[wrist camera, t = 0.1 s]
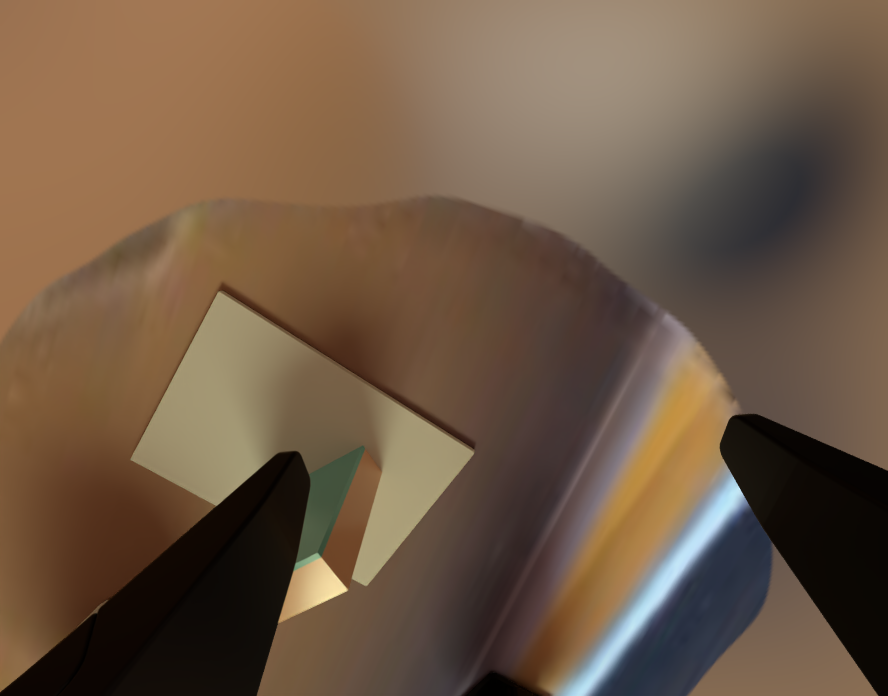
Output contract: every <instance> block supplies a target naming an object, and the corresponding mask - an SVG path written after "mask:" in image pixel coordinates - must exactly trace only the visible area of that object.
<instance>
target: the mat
mask: <svg viewBox="0 0 888 696" xmlns="http://www.w3.org/2000/svg"><path fill="white" fill-rule="evenodd" d="M362 445H363V446H364V447H365V449H366V450H367V452H368V453H369V454H370V456H371V457H372V459H373V460H374V461H375V463H376V464H377V466H378V467H379V468H380V470H381V471H382V475H381V478H380V482H379V485H378V489H377V492H376V496H375V499H374V502H373V506H372V509H371V513H370V516H369V520H368V523H367V527H366V530H365V534H364V537H363V541H362V544H361V548H360V551H359V555H358V558H357V562H356V565H355V568H354V572H353V575H352V579H353V580H355V581H357V582H359V583H361V584H363V585H365V586H367V585H368V584H369V583H370V581H371V580H372V579H373V578H374V576H375V575H376V574H377V573H378V572H379V570H380V569H381V568H382V567H383V565H384V564H385V563H386V562H387V560H388V559H389V558H390V557H391V556H392V554H393V553H394V552H395V551H396V549H397V548H398V547H399V546H400V544H401V543H402V542H403V541H404V539H405V538H406V537H407V536H408V535H409V533H410V532H411V531H412V530H413V528H414V527H415V526H416V525H417V523H418V522H419V521H420V520H421V519H422V517H423V516H424V515H425V514H426V512H427V511H428V510H429V509H430V507H431V506H432V505H433V504H434V502H435V501H436V500H437V499H438V498H439V496H440V495H441V494H442V493H443V491H444V490H445V489H446V488H447V486H448V485H449V484H450V483H451V482H452V480H453V479H454V478H455V477H456V475H457V474H458V473H459V472H460V470H461V469H462V468H463V467H464V465H465V464H466V463H467V462H468V461H469V459H470V458H471V457H472V456H473V454H474V453H475V450H474V449H473V448H471V447H470V446H468V445H466V444H465V443H463V442H462V441H460V440H459V439H457V438H455V437H454V436H452V435H451V434H449V433H447V432H446V431H444V430H443V429H441V428H440V427H438V426H436V425H435V424H433V423H432V422H430V421H428V420H427V419H425V418H424V417H422V416H421V415H419V414H417V413H416V412H414V411H413V410H411V409H409V408H408V407H406V406H405V405H403V404H402V403H400V402H398V401H397V400H395V399H394V398H392V397H390V396H389V395H387V394H386V393H384V392H383V391H381V390H379V389H378V388H376V387H375V386H373V385H371V384H370V383H368V382H367V381H365V380H364V379H362V378H360V377H359V376H357V375H356V374H354V373H352V372H351V371H349V370H348V369H346V368H345V367H343V366H341V365H340V364H338V363H337V362H335V361H333V360H332V359H330V358H329V357H327V356H326V355H324V354H322V353H321V352H319V351H318V350H316V349H314V348H313V347H311V346H310V345H308V344H307V343H305V342H303V341H302V340H300V339H299V338H297V337H295V336H294V335H292V334H291V333H289V332H288V331H286V330H284V329H283V328H281V327H280V326H278V325H277V324H275V323H273V322H272V321H270V320H269V319H267V318H265V317H264V316H262V315H261V314H259V313H258V312H256V311H254V310H253V309H251V308H250V307H248V306H246V305H245V304H243V303H242V302H240V301H239V300H237V299H235V298H234V297H232V296H231V295H229V294H227V293H226V292H224V291H223V290H222V291H219V292H218V294H217V295H216V297H215V299H214V301H213V303H212V305H211V307H210V309H209V311H208V313H207V314H206V316H205V318H204V320H203V322H202V324H201V326H200V328H199V330H198V332H197V334H196V335H195V337H194V339H193V341H192V343H191V345H190V347H189V349H188V351H187V353H186V354H185V356H184V358H183V360H182V362H181V364H180V366H179V368H178V370H177V372H176V374H175V375H174V377H173V379H172V381H171V383H170V385H169V387H168V389H167V391H166V393H165V394H164V396H163V398H162V400H161V402H160V404H159V406H158V408H157V410H156V412H155V414H154V415H153V417H152V419H151V421H150V423H149V425H148V427H147V429H146V431H145V433H144V434H143V436H142V438H141V440H140V442H139V444H138V446H137V448H136V450H135V452H134V454H133V455H132V457H131V459H130V460H132V461H134V462H135V463H137V464H139V465H141V466H143V467H145V468H147V469H148V470H150V471H152V472H154V473H156V474H158V475H160V476H162V477H163V478H165V479H167V480H169V481H171V482H173V483H175V484H176V485H178V486H180V487H182V488H184V489H186V490H188V491H189V492H191V493H193V494H195V495H197V496H199V497H201V498H203V499H204V500H206V501H208V502H210V503H212V504H214V505H216V506H217V505H218V504H219V503H221V502H222V501H223V500H224V499H225V498H226V497H227V496H229V495H230V494H231V493H232V492H233V491H234V490H235V489H237V488H238V487H239V486H240V485H241V484H242V483H243V482H245V481H246V480H247V479H248V478H249V477H250V476H251V475H253V474H254V473H255V472H256V471H257V470H258V469H259V468H261V467H262V466H263V465H264V464H265V463H266V462H268V461H269V460H270V459H271V458H272V457H273V456H274V455H276V454H277V453H279V452H284V451H298V452H299V453H300V454H301V456H302V458H303V460H304V463H305V465H306V468H307V471H308V473H309V474H310V473H312V472H314V471H316V470H318V469H319V468H321V467H323V466H325V465H327V464H329V463H331V462H333V461H334V460H336V459H338V458H340V457H342V456H344V455H346V454H347V453H349V452H351V451H353V450H355V449H357V448H359V447H361V446H362Z"/></svg>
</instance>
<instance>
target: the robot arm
mask: <svg viewBox="0 0 888 696" xmlns="http://www.w3.org/2000/svg"><path fill="white" fill-rule="evenodd" d="M720 452H721V455H722V457H723V459H724V461H725V463H726V464H727V466H728V468H729V470H730V472H731V473H732V475H733V477H734V479H735V480H736V482H737V484H738V486H739V488H740V489H741V491H742V493H743V495H744V496H745V498H746V500H747V502H748V504H749V505H750V507H751V509H752V511H753V512H754V514H755V516H756V518H757V519H758V521H759V523H760V524H761V526H762V528H763V529H764V531H765V532H766V534H767V535H768V537H769V538H770V540H771V541H772V543H773V544H774V545H775V547H776V548H777V550H778V551H779V553H780V554H781V556H782V557H783V558H784V560H785V561H786V563H787V564H788V566H789V567H790V569H791V570H792V571H793V573H794V574H795V576H796V577H797V579H798V580H799V582H800V583H801V585H802V586H803V587H804V589H805V590H806V592H807V593H808V595H809V596H810V598H811V599H812V600H813V602H814V603H815V605H816V606H817V607H818V609H819V610H820V612H821V613H822V615H823V616H824V618H825V619H826V621H827V622H828V623H829V625H830V626H831V628H832V629H833V631H834V632H835V634H836V635H837V637H838V638H839V640H840V641H841V642H842V644H843V645H844V647H845V648H846V650H847V651H848V652H849V654H850V655H851V657H852V658H853V660H854V661H855V663H856V664H857V666H858V667H859V668H860V670H861V671H862V673H863V674H864V676H865V677H866V679H867V680H868V681H869V683H870V684H871V686H872V687H873V689H874V690H875V691H876V693H877V694H878V696H888V471H887V470H885V469H883V468H880V467H878V466H876V465H873V464H871V463H869V462H866V461H864V460H862V459H860V458H857V457H855V456H853V455H850V454H848V453H846V452H843V451H841V450H839V449H837V448H834V447H832V446H829V445H827V444H825V443H822V442H820V441H818V440H816V439H813V438H811V437H809V436H807V435H804V434H802V433H800V432H797V431H795V430H793V429H790V428H788V427H786V426H783V425H781V424H779V423H776V422H774V421H772V420H770V419H767V418H765V417H763V416H760V415H758V414H741V415H734V416H732V417H731V418H730V419H729V421H728V424H727V426H726V429H725V432H724V434H723V437H722V440H721V442H720ZM310 487H311V480H310V476H309V473H308V471H307V468H306V465H305V463H304V460H303V458H302V456H301V454H300V453H299V452H298V451H284V452H279V453H277V454H276V455H274V456H273V457H272V458H271V459H270V460H269V461H268V462H266V463H265V464H264V465H263V466H262V467H261V468H259V469H258V470H257V471H256V472H255V473H254V474H253V475H251V476H250V477H249V478H248V479H247V480H246V481H245V482H243V483H242V484H241V485H240V486H239V487H238V488H237V489H235V490H234V491H233V492H232V493H231V494H230V495H229V496H227V497H226V498H225V499H224V500H223V501H222V502H221V503H219V504H218V505H217V506H216V507H215V508H214V509H212V510H211V511H210V512H209V513H208V514H207V515H206V516H204V517H203V518H202V519H201V520H200V521H199V522H198V523H196V524H195V525H194V526H193V527H192V528H191V529H190V530H188V531H187V532H186V533H185V534H184V535H183V536H182V537H180V538H179V539H178V540H177V541H176V542H175V543H173V544H172V545H171V546H170V547H169V548H168V549H167V550H165V551H164V552H163V553H162V554H161V555H160V556H159V557H157V558H156V559H155V560H154V561H153V562H152V563H151V564H149V565H148V566H147V567H146V568H145V569H144V570H143V571H141V572H140V573H139V574H138V575H137V576H136V577H134V578H133V579H132V580H131V581H130V582H129V583H128V584H126V585H125V586H124V587H123V588H122V589H121V590H120V591H118V592H117V593H116V594H115V595H114V596H113V597H112V598H110V599H109V600H108V601H107V602H106V603H105V604H103V605H102V606H101V607H100V608H99V610H98V612H97V613H94V614H92V615H91V616H90V617H88V618H87V619H86V620H85V621H84V622H83V623H82V624H80V625H79V626H78V627H77V628H76V629H75V630H73V631H72V632H71V633H70V634H69V635H68V636H67V637H65V638H64V639H63V640H62V641H61V642H60V643H58V644H57V645H56V646H55V647H54V648H53V649H51V650H50V651H49V652H48V653H47V654H45V655H44V656H43V657H42V658H41V659H40V660H38V661H37V662H36V663H35V664H34V665H33V666H31V667H30V668H29V669H28V670H27V671H25V672H24V673H23V674H22V675H21V676H20V677H18V678H17V679H16V680H15V681H13V682H12V683H11V684H10V685H8V686H7V687H6V688H5V689H4V690H2V691H1V692H0V696H257V693H258V689H259V686H260V682H261V679H262V676H263V672H264V669H265V666H266V662H267V659H268V655H269V652H270V649H271V645H272V642H273V639H274V635H275V632H276V628H277V625H278V622H279V618H280V615H281V612H282V608H283V605H284V601H285V598H286V595H287V591H288V588H289V585H290V581H291V578H292V575H293V571H294V567H295V564H296V560H297V555H298V551H299V546H300V540H301V535H302V530H303V525H304V519H305V514H306V509H307V503H308V498H309V493H310ZM467 696H538V695H537V694H535V693H533V692H531V691H529V690H527V689H525V688H523V687H521V686H520V685H518V684H516V683H514V682H512V681H510V680H508V679H506V678H504V677H503V676H501V675H499V674H497V673H490V674H489V675H488V676H487V677H486V678H484V679H483V680H482V681H481V682H480V683H479V684H478V685H477V686H476V687H475V688H474V689H473V690H472V691H471V692H470V693H469V694H468V695H467Z"/></svg>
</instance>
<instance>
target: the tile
mask: <svg viewBox="0 0 888 696" xmlns="http://www.w3.org/2000/svg"><path fill="white" fill-rule="evenodd" d="M381 475H382V471H381V470H380V468H379V467H378V466H377V464H376V463H375V461H374V460H373V459H372V457H371V456H370V454H369V453H368V452H367V450H366V449H365V447H364V446H363V445H362V446H361V447H359V448H357V449H355V450H353V451H351V452H349V453H347V454H346V455H344V456H342V457H340V458H338V459H336V460H334V461H333V462H331V463H329V464H327V465H325V466H323V467H321V468H319V469H318V470H316V471H314V472H312V473H310V474H309V476H310V480H311V487H310V493H309V498H308V503H307V509H306V514H305V519H304V525H303V530H302V535H301V540H300V546H299V551H298V555H297V560H296V564H295V567H294V571H293V575H292V578H291V581H290V585H289V588H288V591H287V595H286V598H285V601H284V605H283V608H282V612H281V615H280V618H279V622H278V623H280V622H282V621H284V620H286V619H288V618H291V617H293V616H295V615H297V614H299V613H301V612H303V611H305V610H308V609H310V608H312V607H314V606H316V605H318V604H320V603H322V602H324V601H327V600H329V599H331V598H333V597H335V596H337V595H339V594H341V593H344V592H346V591H348V589H349V586H350V582H351V579H352V575H353V572H354V568H355V565H356V562H357V558H358V555H359V551H360V548H361V544H362V541H363V537H364V534H365V530H366V527H367V523H368V520H369V516H370V513H371V509H372V506H373V502H374V499H375V496H376V492H377V489H378V485H379V482H380V478H381Z"/></svg>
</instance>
